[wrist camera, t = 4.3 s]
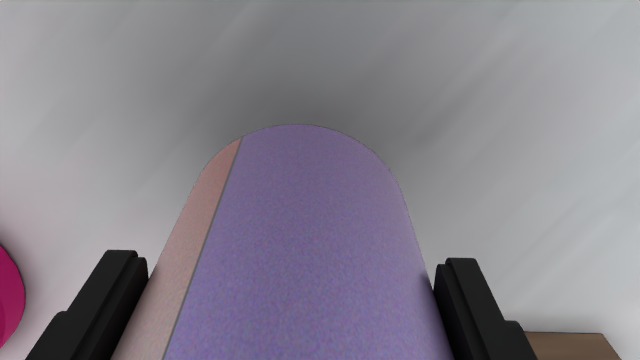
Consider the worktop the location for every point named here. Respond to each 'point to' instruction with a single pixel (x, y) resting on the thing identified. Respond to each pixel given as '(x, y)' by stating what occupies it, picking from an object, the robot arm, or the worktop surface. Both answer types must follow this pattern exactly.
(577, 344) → the holder
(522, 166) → the worktop surface
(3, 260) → the pepper mill
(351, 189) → the beverage can
